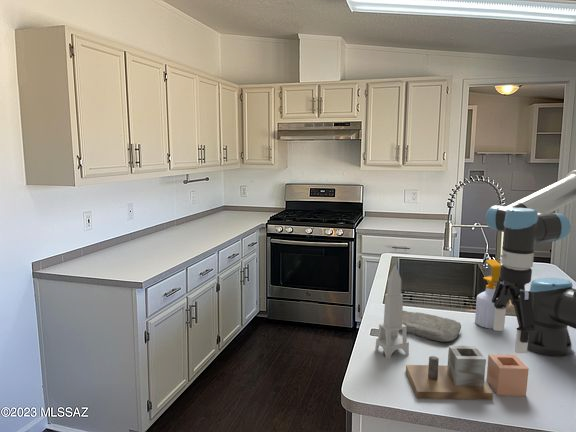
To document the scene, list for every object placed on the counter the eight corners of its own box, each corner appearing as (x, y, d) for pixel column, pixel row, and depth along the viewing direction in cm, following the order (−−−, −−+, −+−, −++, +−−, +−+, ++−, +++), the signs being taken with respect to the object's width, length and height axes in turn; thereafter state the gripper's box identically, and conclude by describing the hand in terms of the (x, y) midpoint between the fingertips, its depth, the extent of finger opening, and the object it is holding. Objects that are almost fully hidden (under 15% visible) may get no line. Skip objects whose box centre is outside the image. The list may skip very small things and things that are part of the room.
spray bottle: (489, 317, 170) (494, 256, 166) (506, 327, 161) (512, 263, 157) (469, 320, 168) (474, 258, 163) (486, 330, 159) (491, 265, 155)
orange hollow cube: (513, 380, 127) (515, 354, 125) (526, 395, 119) (528, 368, 118) (486, 380, 127) (488, 354, 125) (497, 395, 119) (499, 368, 118)
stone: (464, 321, 157) (451, 336, 146) (463, 332, 158) (450, 348, 147) (397, 305, 173) (380, 317, 161) (396, 315, 174) (379, 328, 162)
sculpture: (375, 349, 146) (377, 262, 140) (396, 345, 149) (399, 259, 143) (386, 358, 139) (390, 268, 134) (408, 354, 142) (412, 265, 137)
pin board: (473, 372, 131) (475, 341, 129) (492, 399, 117) (495, 365, 116) (405, 370, 132) (407, 340, 130) (417, 398, 118) (418, 364, 117)
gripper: (483, 253, 129) (477, 321, 133) (524, 280, 105) (516, 363, 108) (509, 254, 129) (503, 322, 132) (556, 281, 104) (547, 363, 108)
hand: (509, 340), depth 120 cm, fingers open, 13 cm apart
